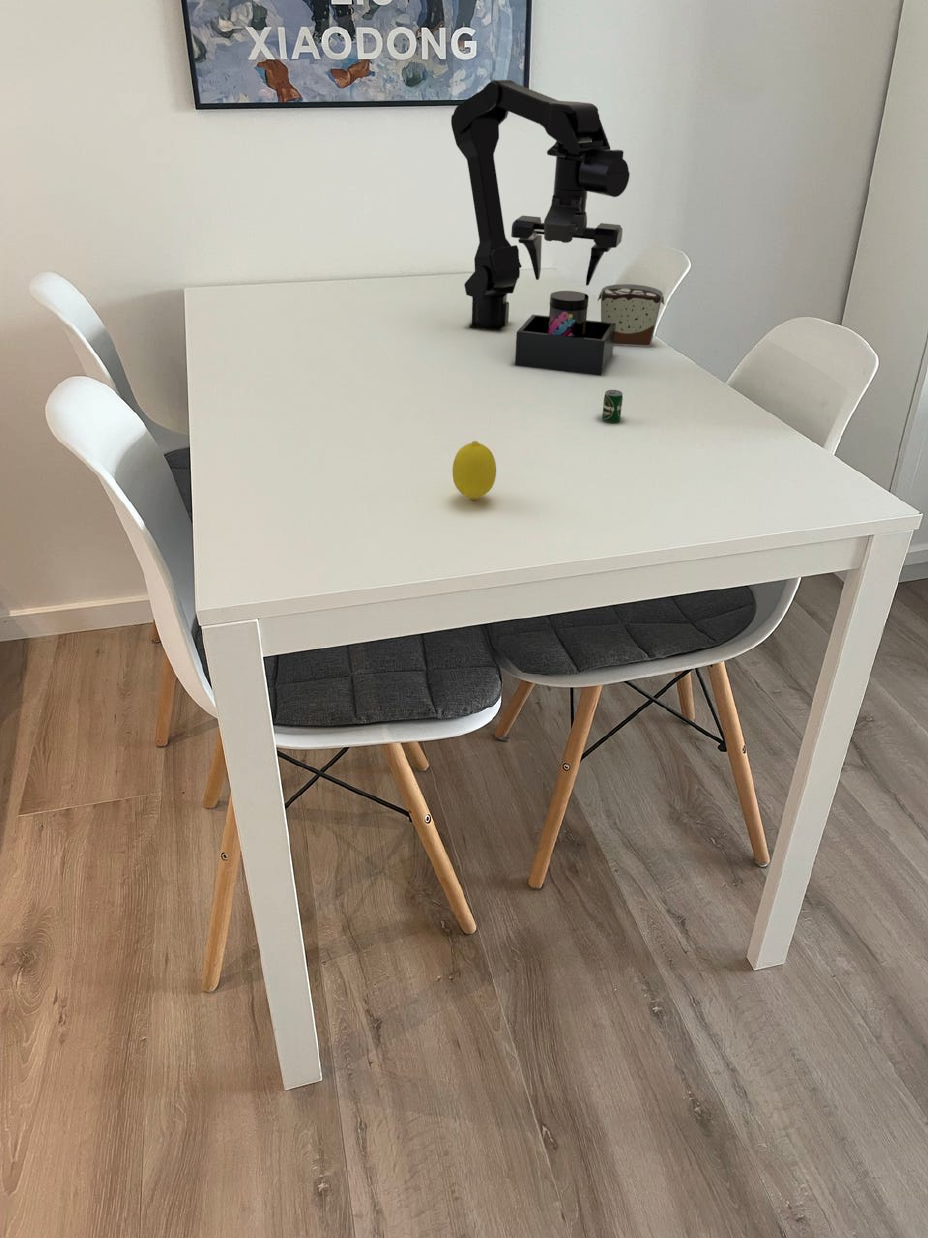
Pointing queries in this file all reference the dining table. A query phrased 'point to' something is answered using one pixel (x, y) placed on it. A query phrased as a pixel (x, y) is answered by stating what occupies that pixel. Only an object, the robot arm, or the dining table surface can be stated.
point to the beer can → (612, 406)
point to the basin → (565, 347)
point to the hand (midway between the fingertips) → (562, 282)
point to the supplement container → (568, 313)
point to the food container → (631, 312)
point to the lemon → (474, 470)
